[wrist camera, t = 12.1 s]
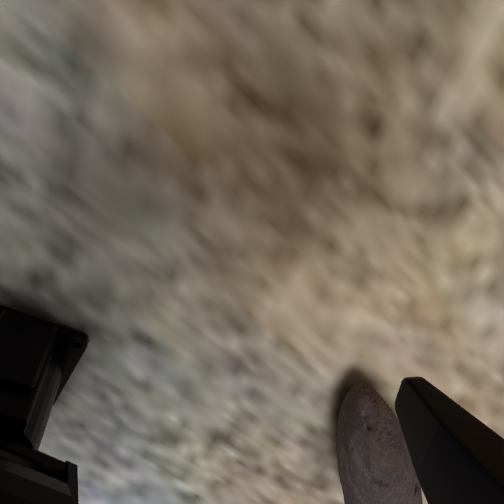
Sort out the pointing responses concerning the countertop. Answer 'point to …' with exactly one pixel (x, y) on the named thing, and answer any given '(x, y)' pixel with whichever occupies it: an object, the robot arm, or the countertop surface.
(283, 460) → the countertop surface
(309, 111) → the countertop surface
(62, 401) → the countertop surface
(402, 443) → the perforated stone tool
